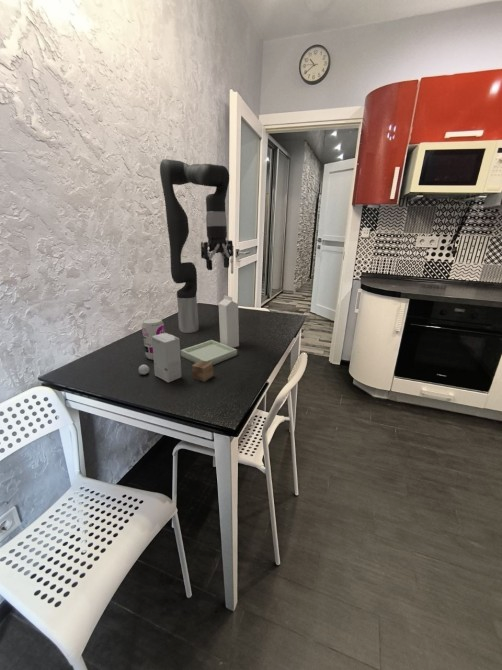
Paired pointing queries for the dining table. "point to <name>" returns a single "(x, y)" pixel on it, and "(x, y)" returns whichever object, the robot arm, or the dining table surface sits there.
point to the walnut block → (202, 370)
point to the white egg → (143, 369)
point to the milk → (228, 322)
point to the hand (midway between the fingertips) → (218, 268)
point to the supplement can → (151, 334)
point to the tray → (209, 352)
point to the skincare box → (166, 356)
